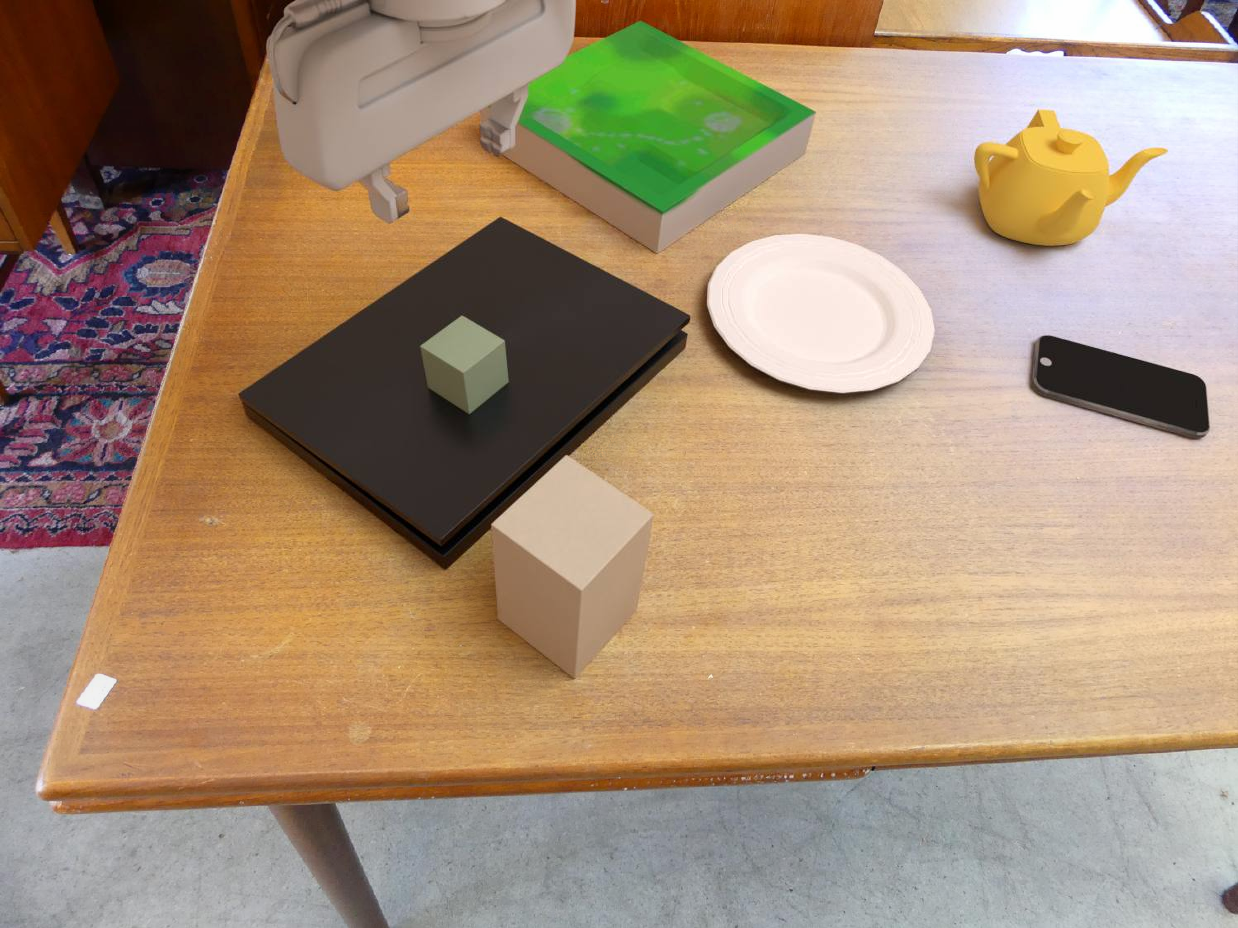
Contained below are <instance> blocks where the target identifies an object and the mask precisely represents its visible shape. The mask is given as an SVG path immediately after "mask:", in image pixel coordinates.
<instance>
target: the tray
mask: <svg viewBox="0 0 1238 928" xmlns="http://www.w3.org/2000/svg"><path fill="white" fill-rule="evenodd" d="M490 107H491V105H490V106H488V107H487V108H485V109H483V110H481V111H480V112H479V114H480V123H482V122H483V121H485V120H486V119H488V115H489V111H490ZM816 115H817V111H815V110H813V109H812V108H809V107H808V106H806V105H804V104H802V103H800V102H799V101H796V100H794V99H792V98H790V97H788V96H787V95H784V94H783V93H781V92H779V91H777V90H775V89H773V88H771V87H769V86H767V85H765V84H763V83H762V82H760V81H757V80H755V79H754V78H752V77H749V76H748V75H746V74H744V73H742V72H741V71H738V70H736V69H735V68H732V67H730V66H728V65H727V64H725V63H723V62H721V61H719V60H717V59H716V58H713V57H712V56H710V55H707V54H705V53H703V52H702V51H700V50H699V49H696V48H694V47H692V46H690V45H688V44H686V43H684V42H683V41H680V40H679V39H677V38H675V37H673V36H671V35H669V34H667V33H665V32H663V31H661V30H659V29H657V28H656V27H653V26H652V25H650V24H648V23H646V22H644V21H642V20H638V21H637V22H634V23H633V24H631V25H628V26H627V27H625V28H623V29H620V30H619V31H618V30H617V32H614V33H613V34H612V33H611V34H610V35H608V36H606V37H604V38H602V39H599V40H598V41H596V42H594V43H592V44H590V45H588V46H585V47H584V48H581V49H579V50H577V51H575V52H573V53H570V54H568V55H567V57H566V59H565V61H564V63H563V64H562V65H561V66H559V67H557V68H555V69H553V70H552V71H550V72H548V73H546V74H545V75H543V76H541V77H539V78H538V79H536V80H534V81H532V82H531V83H529V84H528V97H527V100H526V102H525V105H524V107H523V110H522V112H521V115H520V117H519V120H518V122H517V125H515V147H514V148H512V149H511V150H509V151H508V152H506V153H504V154H502V155H501V156H503V157H505V158H506V159H508V160H509V161H510V162H513V163H514V164H517V165H518V166H519V167H521V168H522V169H524V170H525V171H527V172H528V173H530V174H531V175H533V176H535V177H537V178H538V179H539V180H541V181H543V182H544V183H546V184H547V185H549V186H551V187H552V188H553V189H555V190H557V191H558V192H560V193H561V194H563V195H564V196H566V197H568V198H569V199H570V200H572V201H574V202H575V203H577V204H578V205H580V206H582V207H583V208H584V209H586V210H588V211H589V212H591V213H592V214H594V215H595V216H598V217H599V218H600V219H602V220H603V221H605V222H607V223H608V224H610V225H611V226H613V227H615V229H618V230H619V231H620V232H622V233H623V234H625V235H627V236H628V237H630V238H632V239H633V240H635V241H636V242H637V243H639V244H641V245H642V246H644V247H645V248H647V249H649V250H650V251H652V252H653V253H655V254H657V255H658V254H659V253H661V252H662V251H664V250H665V249H667V248H668V247H669V246H671V245H673V244H674V243H675V242H677V241H679V240H680V239H681V238H683V237H684V236H686V235H687V234H688V233H690V232H691V231H693V230H694V229H696V228H698V227H699V226H700V225H702V224H704V222H706V221H708V220H709V219H711V218H712V217H714V216H715V215H717V214H718V213H720V212H721V211H722V210H724V209H725V208H727V207H728V206H730V205H732V204H733V203H734V202H735V201H737V200H739V199H740V198H742V197H743V196H744V195H746V194H748V193H749V192H750V191H752V190H753V189H755V188H756V187H758V186H759V185H762V183H764V182H765V181H767V180H768V179H770V178H771V177H772V176H774V175H775V174H777V173H778V172H780V171H782V170H783V169H784V168H785V167H787V166H789V165H790V164H792V163H793V162H794V161H796V160H798V159H799V158H801V157H802V156H803V155H805V154H806V152H807V148H808V144H809V140H810V136H811V132H812V129H813V125H814V121H815V118H816Z"/></svg>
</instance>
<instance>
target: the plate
mask: <svg viewBox="0 0 1238 928" xmlns="http://www.w3.org/2000/svg"><path fill="white" fill-rule="evenodd" d="M706 291H707V294H706V308H707V312H708V315H709V317H710V321H711V324H712V327H713V328H714V330H715V331H716V333H717V334H718V336H719V337H720V338H721V339H722V341H723V342H724V344H725V345H726V346H727V348H728V350H731V351H732V352H733V353H734V354H735V355H736V356H738V357H739V358H740V359H741V360H742V361H743V362H744V363H746V364H747V365H749V366H750V367H751V368H753V369H755V370H756V371H759V372H761V373H763V374H764V375H766V376H768V377H770V378H772V379H774V380H776V381H777V382H780V383H784V384H787V385H790V386H793V387H797V388H800V389H803V390H807V391H809V392H819V393H828V394H837V395H846V394H859V393H868V392H875V391H877V390H881V389H883V388H886V387H889V386H892V385H895V384H898V383H900V382H901V381H902V380H904V379H906V377H908V376H910V375H911V374H912V373H914V372H916V371H917V370H918V369H919V368H920V366H921V365H922V363H923V362H924V361H925V359H926V358H927V356H928V355H929V353H930V352H931V351H932V345H933V340H934V336H935V332H936V328H935V325H934V318H933V313H932V309H931V307H930V305H929V303H928V302H927V299H926V298H925V296H924V294H923V292H922V290H921V289H920V288H919V287H918V285H917V284H916V283H915V282H914V281H913V280H912V279H911V278H910V277H909V276H908V275H907V274H906V272H904V271H903V270H902V269H901V268H899V267H898V266H896V265H895V264H893V263H892V262H891V261H890V260H888V259H886V257H884V256H882V255H881V254H878V253H876V252H874V251H872V250H870V249H868V248H866V247H863V246H861V245H859V244H857V243H854V242H850V241H846V240H843V239H839V238H835V237H832V236H829V235H828V236H826V235H819V234H818V235H817V234H809V233H791V234H790V233H789V234H775V235H771V236H766V237H763V238H760V239H756V240H752V241H748V243H745V244H744V245H742V246H740V247H738V248H736V249H734V250H732V251H731V252H729V253H728V254H727V255H726V257H724V258H723V259H722V260H721V261H720V262H719V263H718V264H717V265H716V266H715V268H714V270H713V272H712V275H711V277H710V279H709V281H708V283H707V289H706Z"/></svg>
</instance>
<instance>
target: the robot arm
mask: <svg viewBox="0 0 1238 928" xmlns="http://www.w3.org/2000/svg"><path fill="white" fill-rule="evenodd" d="M576 7H577V0H294V1H292V2H290V3H289V4H287V6H285V8H284V10H283V17H282V18H280V19H279V21H278V22H277V23H276V25H275V26H274V27H273V30H272V32H271V34H270V35H269V36H268V37H267V40H266V56H267V61H268V66H269V69H270V74H271V78H272V89H273V91H272V92H273V103H274V111H275V120H276V126H277V127H276V128H277V135H278V139H279V147H280V150H281V153H282V156H283V158H284V160H285V162H286V163H287V164H288V165H289V166H290V167H291V168H292V169H293V170H295V171H296V173H297V172H298V173H299V174H300V175H302V176H303V177H305V178H306V179H307V180H310V181H312V182H313V183H315V184H318V185H319V186H321V187H323V188H325V189H326V190H327V189H328V190H330V191H332V192H339V191H343V190H344V189H347V188H348V187H350V186H351V185H353V184H355V183H357V182H358V183H359V184H360V185H361V186H362V187H363V188H364V189H365V190H366V191H367V192H368V198H369V204H370V210H371V211H372V213H373V214H374V215H375V217H377V218H378V219H380V220H382V221H383V222H385V223H387V224H389V225H390V224H393V223H394V222H396V221H397V220H399V219H400V218H403V216H405V215H407V214H408V213H409V212H410V206H409V204H408V202H409V195H408V190H407V189H405V188H403V187H402V186H401V185H397V184H396V185H395V182H393V181H392V180H390V179H388V177H389V176H390V175H391V164H390V163H391V162H393V161H396V160H397V159H399V158H400V157H402V156H404V155H406V154H408V153H409V152H411V151H413V150H414V149H416V148H418V147H420V146H422V145H424V144H425V143H427V142H429V141H431V140H432V139H434V138H436V137H437V136H439V135H441V134H442V133H445V132H447V131H449V130H450V129H452V128H453V127H455V126H457V125H459V124H461V123H462V122H464V121H466V120H467V119H469V118H471V117H472V116H474V115H476V114H478V113H480V111H481V110H483V109H485V108H487V107H488V106H490V105H491V107H490V111H489V115H488V119H486V120H485V121H483V122H482V123H481V122H480V123H479V124H478V126H479V134H480V138H479V143H480V146H481V148H482V149H483V150H484V152H487V153H491V154H492V156H494V157H496V158H499V157H501V156H503V155H502V154H504V153H506V152H508V151H509V150H511V149H512V148H514V147H515V125H517V122H518V120H519V117H520V115H521V112H522V110H523V107H524V105H525V102H526V100H527V97H528V84H529V83H531V82H532V81H534V80H536V79H538V78H539V77H541V76H543V75H545V74H546V73H548V72H550V71H552V70H553V69H555V68H557V67H559V66H561V65H562V64H563V63H564V61H565V59H566V57H567V56H569V53H570V51H571V48H572V46H573V43H574V38H575V28H576V12H577V8H576Z"/></svg>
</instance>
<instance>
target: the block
mask: <svg viewBox="0 0 1238 928" xmlns="http://www.w3.org/2000/svg"><path fill="white" fill-rule="evenodd" d="M420 348H421V353H422V358H423V363H424V369H425V374H426V379H427V384H428V388H429V389H431V390H433V391H434V392H436V393H437V394H439V395H440V396H442V397H443V398H445V399H446V400H448V401H450V402H451V403H453V404H454V405H456V406H457V407H459V408H460V409H462V410H464V411H465V412H467V413H468V414H470V413H471V412H473V411H474V410H475V409H476V408H478V407H479V406H480V405H481V404H482V403H484V402H485V401H486V400H487V399H489V398H490V397H491V396H492V395H494V394H495V393H496V392H497V391H498V390H500V389H501V388H502V387H503V386H505V385H506V384H507V383H508V382H509V381H508V370H507V360H506V349H505V341H504V340H503V339H501V338H499V337H498V336H496V335H494V334H493V333H491V332H489V331H488V330H486V329H484V328H483V327H481V326H479V325H477V324H476V323H474V322H472V321H471V320H469V319H467V318H466V317H464V316H460V317H459V318H458V319H456V320H455V321H454V322H452V323H451V324H450V325H448V326H447V327H445V328H444V329H443V330H441V331H440V332H439V333H437V334H436V335H435V336H433V337H432V338H430V339H429V340H428V341H426V342H425V343H424V344H422V345H421V346H420Z"/></svg>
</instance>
